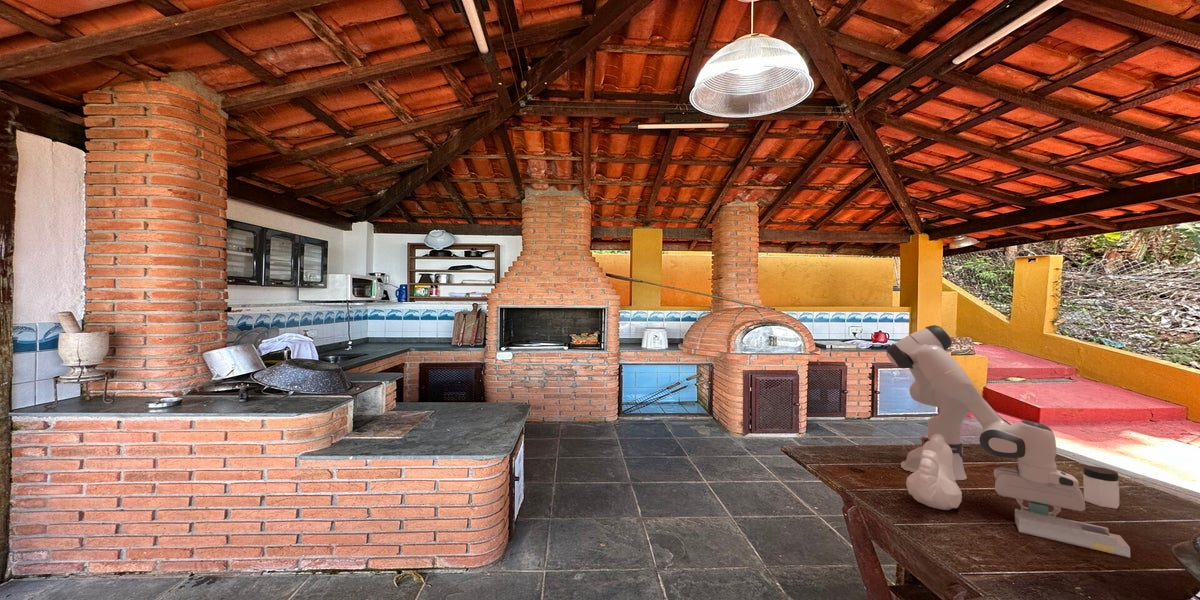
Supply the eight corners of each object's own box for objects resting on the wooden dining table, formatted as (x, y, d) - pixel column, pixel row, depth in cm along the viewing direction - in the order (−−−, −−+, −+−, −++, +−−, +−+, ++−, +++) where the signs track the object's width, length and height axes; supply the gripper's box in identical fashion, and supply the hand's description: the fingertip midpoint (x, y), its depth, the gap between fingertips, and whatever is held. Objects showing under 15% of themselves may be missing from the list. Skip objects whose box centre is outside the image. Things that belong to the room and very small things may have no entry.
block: (1030, 522, 136) (1030, 503, 137) (1028, 517, 140) (1028, 499, 140) (1048, 525, 134) (1048, 506, 134) (1046, 521, 137) (1045, 502, 137)
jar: (1117, 511, 147) (1116, 476, 147) (1082, 502, 154) (1081, 468, 154) (1121, 504, 152) (1120, 470, 152) (1087, 496, 159) (1086, 464, 159)
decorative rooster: (921, 490, 163) (920, 426, 164) (972, 507, 149) (971, 436, 150) (886, 504, 151) (884, 435, 152) (938, 524, 137) (936, 447, 138)
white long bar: (1019, 535, 130) (1018, 517, 130) (1015, 525, 137) (1014, 508, 137) (1130, 562, 117) (1129, 542, 117) (1120, 549, 123) (1119, 530, 123)
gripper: (994, 468, 141) (995, 510, 141) (1086, 483, 129) (1087, 529, 128) (992, 462, 146) (993, 503, 146) (1080, 477, 134) (1081, 521, 133)
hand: (1038, 515), depth 137 cm, fingers open, 5 cm apart
